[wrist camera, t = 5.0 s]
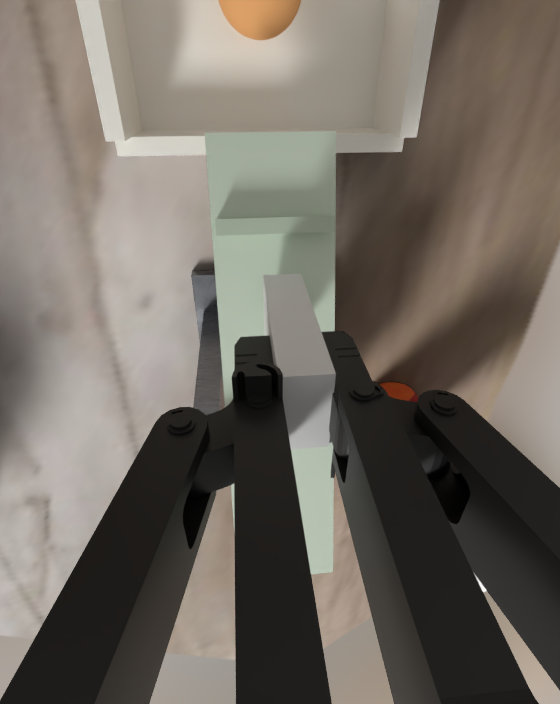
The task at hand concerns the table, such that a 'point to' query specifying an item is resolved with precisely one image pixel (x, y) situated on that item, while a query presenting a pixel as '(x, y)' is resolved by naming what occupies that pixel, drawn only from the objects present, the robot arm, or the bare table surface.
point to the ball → (260, 16)
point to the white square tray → (257, 73)
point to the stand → (208, 344)
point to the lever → (276, 268)
